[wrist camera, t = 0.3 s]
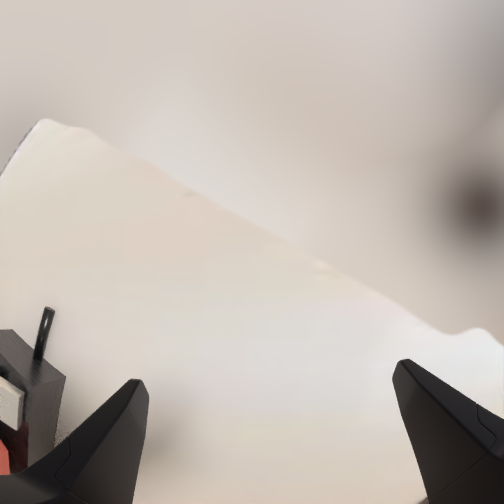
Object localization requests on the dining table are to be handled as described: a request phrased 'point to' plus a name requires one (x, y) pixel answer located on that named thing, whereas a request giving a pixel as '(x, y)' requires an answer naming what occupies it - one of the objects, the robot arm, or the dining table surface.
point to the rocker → (4, 460)
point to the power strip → (28, 397)
